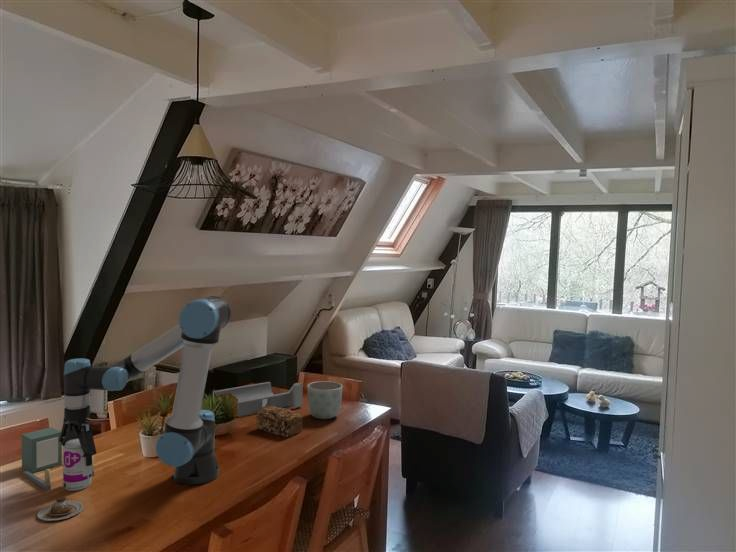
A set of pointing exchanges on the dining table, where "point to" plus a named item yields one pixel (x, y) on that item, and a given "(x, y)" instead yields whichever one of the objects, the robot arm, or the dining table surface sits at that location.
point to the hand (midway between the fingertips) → (77, 469)
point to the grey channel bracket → (263, 397)
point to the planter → (324, 399)
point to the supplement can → (74, 467)
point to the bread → (279, 421)
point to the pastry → (60, 509)
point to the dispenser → (42, 454)
